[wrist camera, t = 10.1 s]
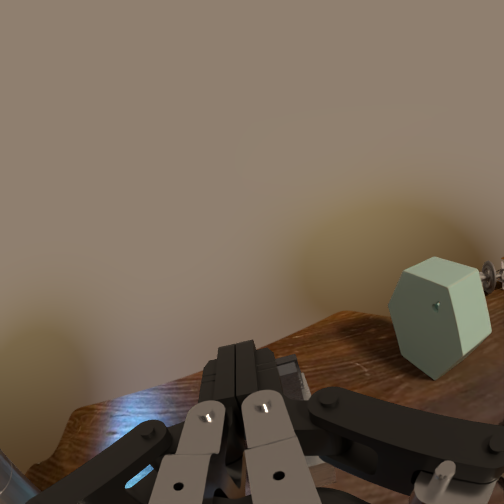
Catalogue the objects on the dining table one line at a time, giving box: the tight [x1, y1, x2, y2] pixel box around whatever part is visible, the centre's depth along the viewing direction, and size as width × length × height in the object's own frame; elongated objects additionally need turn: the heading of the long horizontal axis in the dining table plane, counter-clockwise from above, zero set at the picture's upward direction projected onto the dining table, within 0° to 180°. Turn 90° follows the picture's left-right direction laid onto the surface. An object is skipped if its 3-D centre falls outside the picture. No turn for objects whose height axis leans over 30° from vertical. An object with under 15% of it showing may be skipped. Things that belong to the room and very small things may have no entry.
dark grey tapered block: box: [277, 362, 304, 400], centre depth 34 cm, size 11×6×10 cm, turn 3°
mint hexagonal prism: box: [388, 257, 492, 380], centre depth 39 cm, size 17×8×21 cm
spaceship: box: [479, 261, 504, 294], centre depth 52 cm, size 8×35×8 cm
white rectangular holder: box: [275, 354, 336, 487], centre depth 33 cm, size 18×9×10 cm, turn 3°
